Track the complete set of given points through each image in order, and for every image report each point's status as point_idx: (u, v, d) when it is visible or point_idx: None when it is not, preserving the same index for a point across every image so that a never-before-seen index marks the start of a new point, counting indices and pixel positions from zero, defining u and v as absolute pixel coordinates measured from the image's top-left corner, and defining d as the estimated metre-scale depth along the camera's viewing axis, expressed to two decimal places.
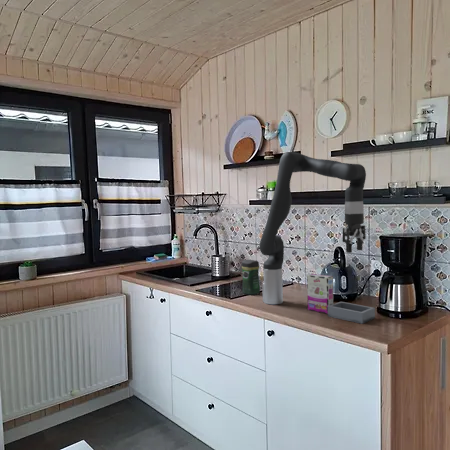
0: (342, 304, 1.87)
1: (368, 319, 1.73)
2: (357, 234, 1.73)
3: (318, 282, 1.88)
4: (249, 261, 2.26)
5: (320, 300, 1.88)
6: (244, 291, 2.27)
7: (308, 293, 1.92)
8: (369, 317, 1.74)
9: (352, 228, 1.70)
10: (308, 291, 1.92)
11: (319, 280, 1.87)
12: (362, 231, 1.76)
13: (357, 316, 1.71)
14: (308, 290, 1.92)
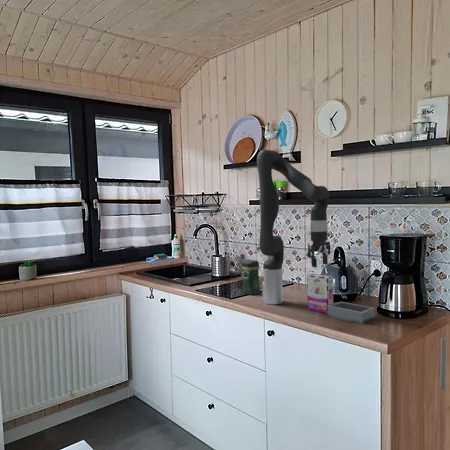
0: (342, 304, 1.87)
1: (368, 319, 1.73)
2: (322, 250, 1.89)
3: (318, 282, 1.88)
4: (249, 261, 2.26)
5: (320, 300, 1.88)
6: (244, 291, 2.27)
7: (308, 293, 1.92)
8: (369, 317, 1.74)
9: (317, 245, 1.86)
10: (308, 291, 1.92)
11: (319, 280, 1.87)
12: (327, 247, 1.92)
13: (357, 316, 1.71)
14: (308, 290, 1.92)
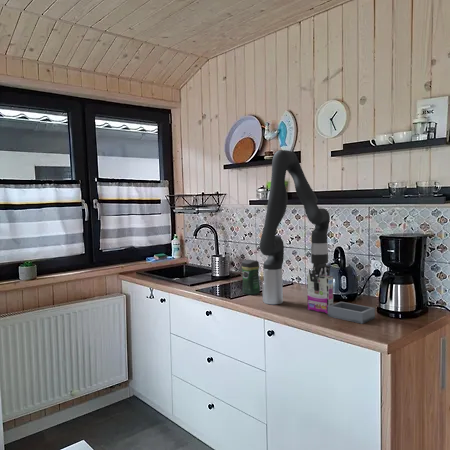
0: (342, 304, 1.87)
1: (368, 319, 1.73)
2: (322, 272, 1.89)
3: None
4: (249, 261, 2.26)
5: (320, 300, 1.88)
6: (244, 291, 2.27)
7: (308, 293, 1.92)
8: (369, 317, 1.74)
9: (317, 267, 1.86)
10: (307, 291, 1.92)
11: (319, 279, 1.87)
12: (327, 270, 1.93)
13: (357, 316, 1.71)
14: (308, 290, 1.92)
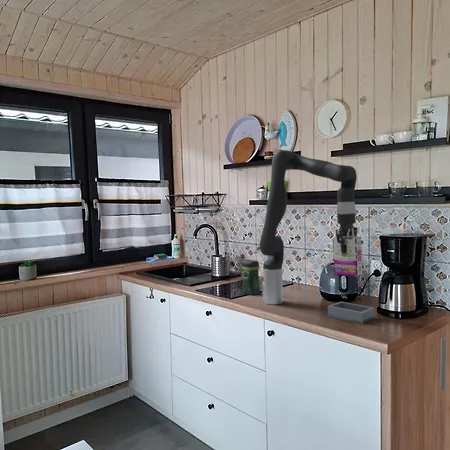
0: (342, 304, 1.87)
1: (368, 319, 1.73)
2: (349, 233, 1.77)
3: (346, 243, 1.76)
4: (249, 261, 2.26)
5: (348, 262, 1.76)
6: (244, 291, 2.27)
7: (334, 256, 1.80)
8: (369, 317, 1.74)
9: (344, 228, 1.75)
10: (334, 254, 1.81)
11: None
12: (354, 232, 1.81)
13: (357, 316, 1.71)
14: (334, 253, 1.80)
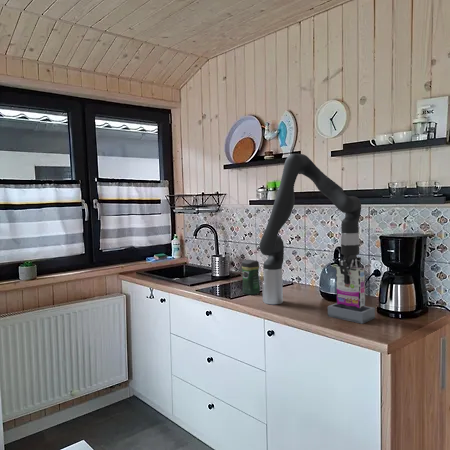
0: None
1: (368, 319, 1.73)
2: (352, 264, 1.77)
3: None
4: (249, 261, 2.26)
5: (351, 293, 1.76)
6: (244, 291, 2.27)
7: (337, 286, 1.80)
8: (369, 317, 1.74)
9: (348, 259, 1.75)
10: (337, 284, 1.81)
11: None
12: (357, 262, 1.81)
13: (357, 316, 1.71)
14: (337, 283, 1.80)
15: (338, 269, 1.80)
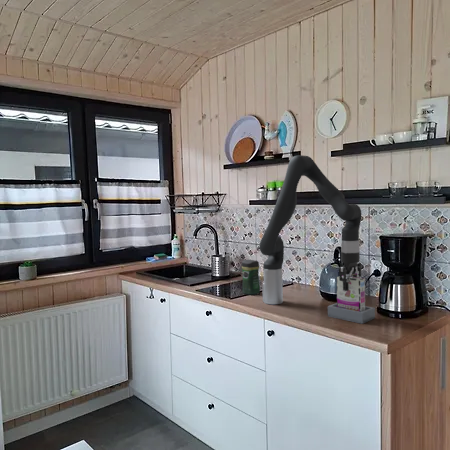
0: None
1: (368, 319, 1.73)
2: (353, 272, 1.78)
3: (349, 284, 1.76)
4: (249, 261, 2.26)
5: (351, 303, 1.76)
6: (244, 291, 2.27)
7: (338, 296, 1.81)
8: (369, 317, 1.74)
9: (348, 267, 1.75)
10: (337, 293, 1.81)
11: (350, 282, 1.76)
12: (358, 268, 1.82)
13: (357, 316, 1.71)
14: (338, 293, 1.81)
15: (338, 279, 1.80)
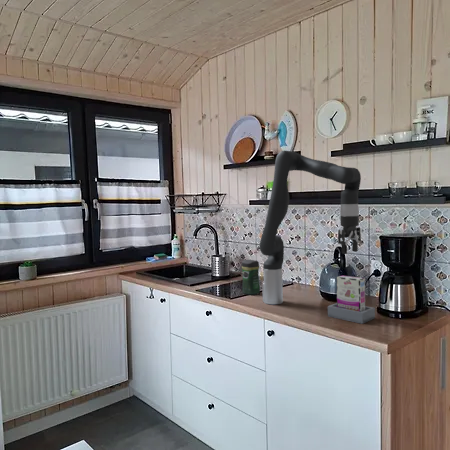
0: None
1: (368, 319, 1.73)
2: (352, 236, 1.77)
3: (349, 284, 1.76)
4: (249, 261, 2.26)
5: (351, 303, 1.76)
6: (244, 291, 2.27)
7: (338, 296, 1.81)
8: (369, 317, 1.74)
9: (347, 230, 1.74)
10: (337, 293, 1.81)
11: (350, 282, 1.76)
12: (357, 233, 1.81)
13: (357, 316, 1.71)
14: (338, 293, 1.81)
15: (338, 279, 1.80)
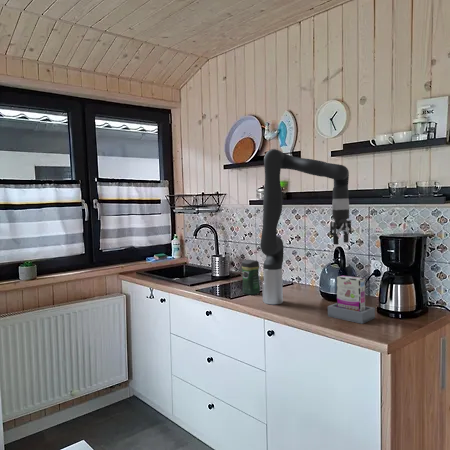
0: None
1: (368, 319, 1.73)
2: (343, 228, 1.93)
3: (349, 284, 1.76)
4: (249, 261, 2.26)
5: (351, 303, 1.76)
6: (244, 291, 2.27)
7: (338, 296, 1.81)
8: (369, 317, 1.74)
9: (339, 222, 1.90)
10: (337, 293, 1.81)
11: (350, 282, 1.76)
12: (348, 225, 1.97)
13: (357, 316, 1.71)
14: (338, 293, 1.81)
15: (338, 279, 1.80)
